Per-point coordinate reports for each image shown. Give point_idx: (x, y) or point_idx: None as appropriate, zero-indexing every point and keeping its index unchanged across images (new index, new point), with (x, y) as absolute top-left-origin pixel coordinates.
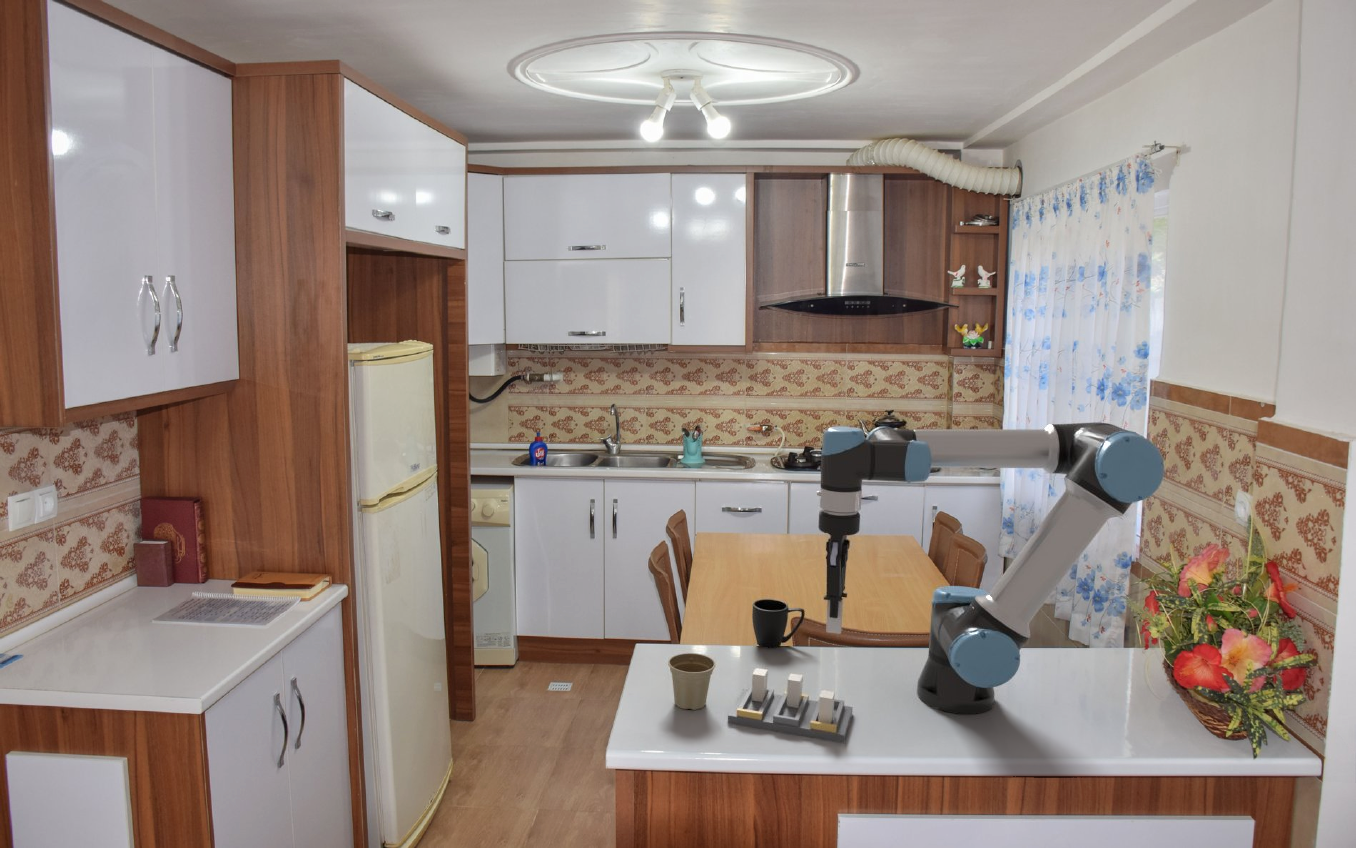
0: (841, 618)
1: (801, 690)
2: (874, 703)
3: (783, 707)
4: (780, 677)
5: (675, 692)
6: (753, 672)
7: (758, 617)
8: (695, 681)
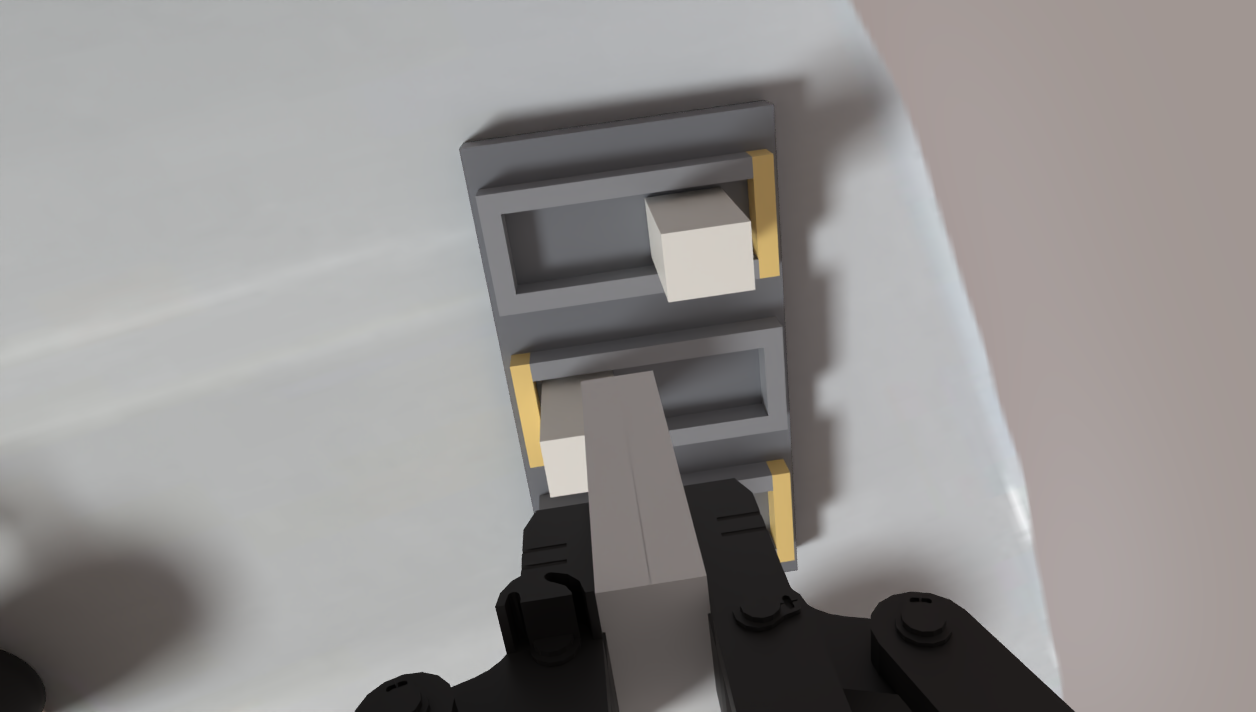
0: (641, 445)
1: (558, 403)
2: (272, 67)
3: None
4: (291, 533)
5: None
6: None
7: None
8: None
